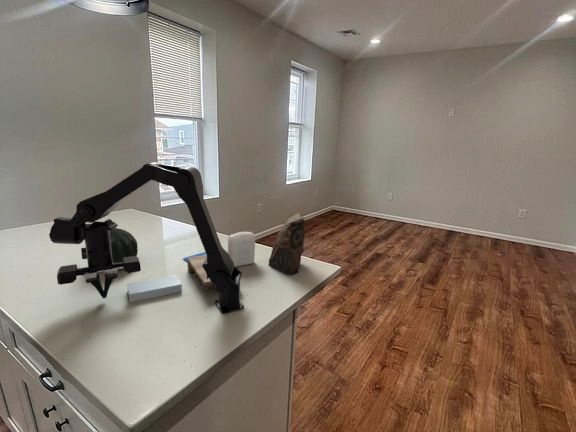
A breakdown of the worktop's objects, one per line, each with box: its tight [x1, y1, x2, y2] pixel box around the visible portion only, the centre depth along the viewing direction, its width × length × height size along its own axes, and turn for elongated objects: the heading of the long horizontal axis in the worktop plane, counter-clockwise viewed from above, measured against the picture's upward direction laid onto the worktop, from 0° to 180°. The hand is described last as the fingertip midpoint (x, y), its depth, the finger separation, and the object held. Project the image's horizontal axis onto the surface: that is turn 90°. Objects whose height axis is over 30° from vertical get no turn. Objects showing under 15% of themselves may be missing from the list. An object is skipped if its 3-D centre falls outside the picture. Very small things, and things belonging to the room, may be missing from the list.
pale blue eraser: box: [126, 274, 183, 303], centre depth 91 cm, size 7×14×2 cm, turn 121°
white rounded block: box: [227, 231, 256, 268], centre depth 113 cm, size 10×4×12 cm, turn 123°
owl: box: [267, 211, 306, 276], centre depth 110 cm, size 13×13×20 cm
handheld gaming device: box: [182, 251, 206, 263], centre depth 118 cm, size 8×1×15 cm
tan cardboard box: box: [186, 255, 241, 290], centre depth 100 cm, size 20×11×5 cm, turn 31°
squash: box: [110, 227, 139, 263], centre depth 106 cm, size 14×15×15 cm
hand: (104, 297), depth 85 cm, fingers closed
